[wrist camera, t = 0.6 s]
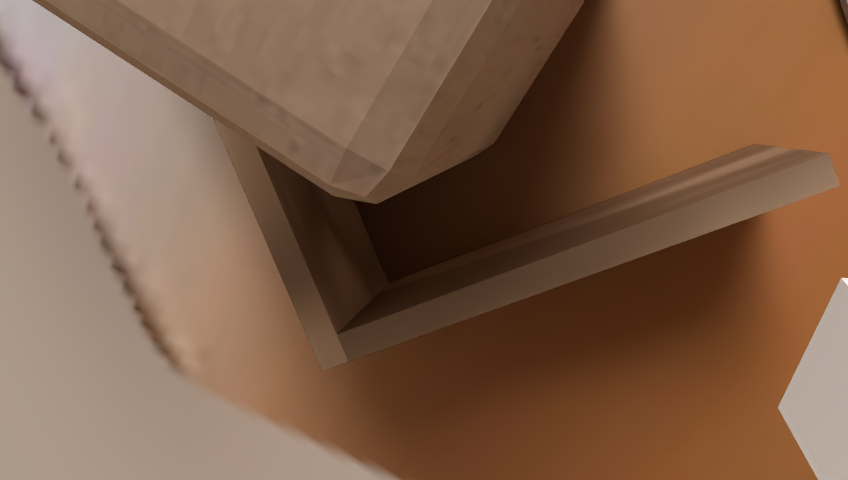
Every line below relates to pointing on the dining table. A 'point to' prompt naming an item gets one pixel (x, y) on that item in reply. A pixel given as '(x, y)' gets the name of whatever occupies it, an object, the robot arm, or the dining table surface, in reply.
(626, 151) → the dining table surface
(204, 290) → the dining table surface
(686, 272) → the dining table surface
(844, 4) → the mat
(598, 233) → the bracket
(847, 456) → the robot arm
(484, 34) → the block
